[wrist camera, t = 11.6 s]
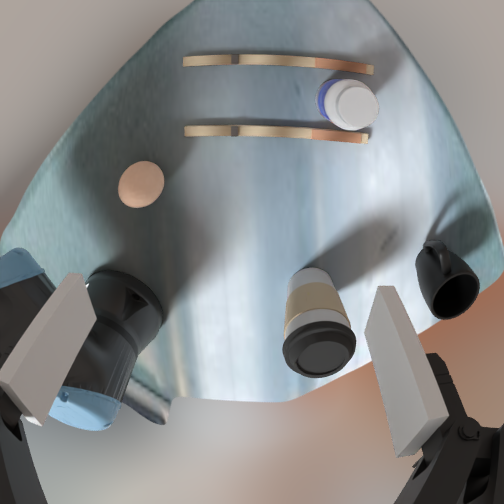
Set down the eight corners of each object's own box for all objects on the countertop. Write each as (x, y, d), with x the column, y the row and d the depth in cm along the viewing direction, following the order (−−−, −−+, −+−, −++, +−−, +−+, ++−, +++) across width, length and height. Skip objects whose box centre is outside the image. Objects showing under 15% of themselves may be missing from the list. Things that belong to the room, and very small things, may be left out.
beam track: (186, 135, 38) (184, 137, 36) (185, 57, 33) (182, 56, 31) (365, 142, 37) (368, 144, 36) (371, 65, 32) (374, 65, 31)
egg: (179, 177, 40) (160, 200, 33) (151, 200, 42) (129, 227, 35) (153, 146, 38) (128, 164, 31) (126, 171, 40) (98, 193, 33)
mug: (441, 207, 41) (474, 238, 32) (455, 267, 46) (481, 303, 37) (394, 230, 43) (419, 267, 35) (413, 289, 48) (434, 328, 40)
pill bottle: (316, 122, 36) (331, 136, 28) (312, 79, 33) (327, 79, 25) (359, 121, 36) (386, 136, 27) (357, 78, 33) (384, 80, 25)
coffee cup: (350, 273, 47) (375, 347, 34) (320, 316, 51) (333, 391, 38) (296, 252, 45) (307, 327, 32) (270, 298, 50) (270, 376, 37)
